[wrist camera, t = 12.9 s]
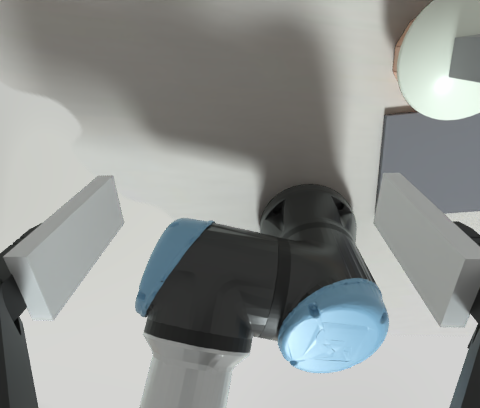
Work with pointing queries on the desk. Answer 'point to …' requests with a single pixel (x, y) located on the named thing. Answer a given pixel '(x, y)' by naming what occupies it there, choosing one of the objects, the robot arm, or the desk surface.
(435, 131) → the mat
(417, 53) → the lid
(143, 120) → the desk surface
